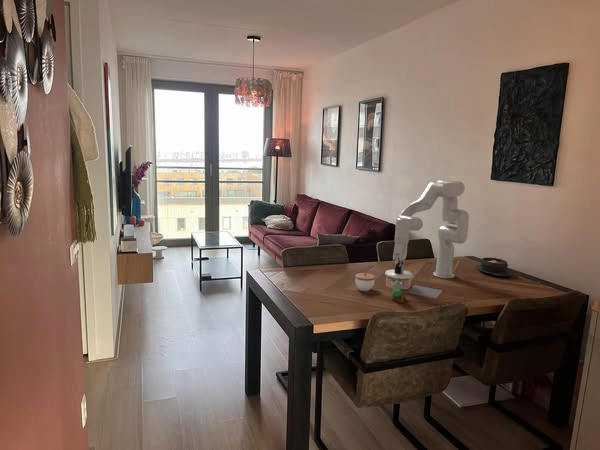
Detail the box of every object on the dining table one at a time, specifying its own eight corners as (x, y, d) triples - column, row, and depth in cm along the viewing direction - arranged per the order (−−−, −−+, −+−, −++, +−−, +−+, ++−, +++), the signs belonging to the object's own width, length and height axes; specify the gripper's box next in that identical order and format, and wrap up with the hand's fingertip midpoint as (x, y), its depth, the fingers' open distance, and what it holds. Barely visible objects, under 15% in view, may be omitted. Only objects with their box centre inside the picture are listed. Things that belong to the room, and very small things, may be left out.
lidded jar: (373, 293, 232) (374, 276, 230) (353, 291, 234) (354, 274, 232) (374, 287, 242) (375, 271, 241) (355, 285, 245) (356, 269, 243)
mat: (414, 285, 247) (414, 284, 247) (442, 291, 239) (443, 290, 239) (405, 293, 234) (405, 292, 234) (435, 299, 226) (435, 298, 226)
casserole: (518, 278, 270) (520, 265, 269) (492, 279, 266) (494, 266, 265) (492, 267, 294) (494, 255, 293) (468, 267, 290) (469, 255, 289)
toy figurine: (386, 295, 229) (388, 277, 227) (398, 296, 230) (399, 277, 228) (393, 304, 217) (395, 285, 215) (405, 304, 217) (407, 285, 216)
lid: (390, 269, 253) (391, 259, 252) (416, 274, 245) (416, 264, 244) (381, 275, 240) (382, 265, 239) (407, 280, 233) (408, 270, 232)
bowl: (390, 282, 253) (391, 272, 252) (412, 286, 246) (413, 276, 245) (382, 287, 242) (383, 277, 241) (405, 292, 235) (406, 282, 234)
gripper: (399, 236, 248) (397, 267, 251) (389, 241, 234) (387, 274, 237) (412, 238, 244) (410, 269, 248) (403, 243, 230) (400, 276, 234)
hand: (399, 271), depth 242 cm, fingers closed on lid, 3 cm apart
